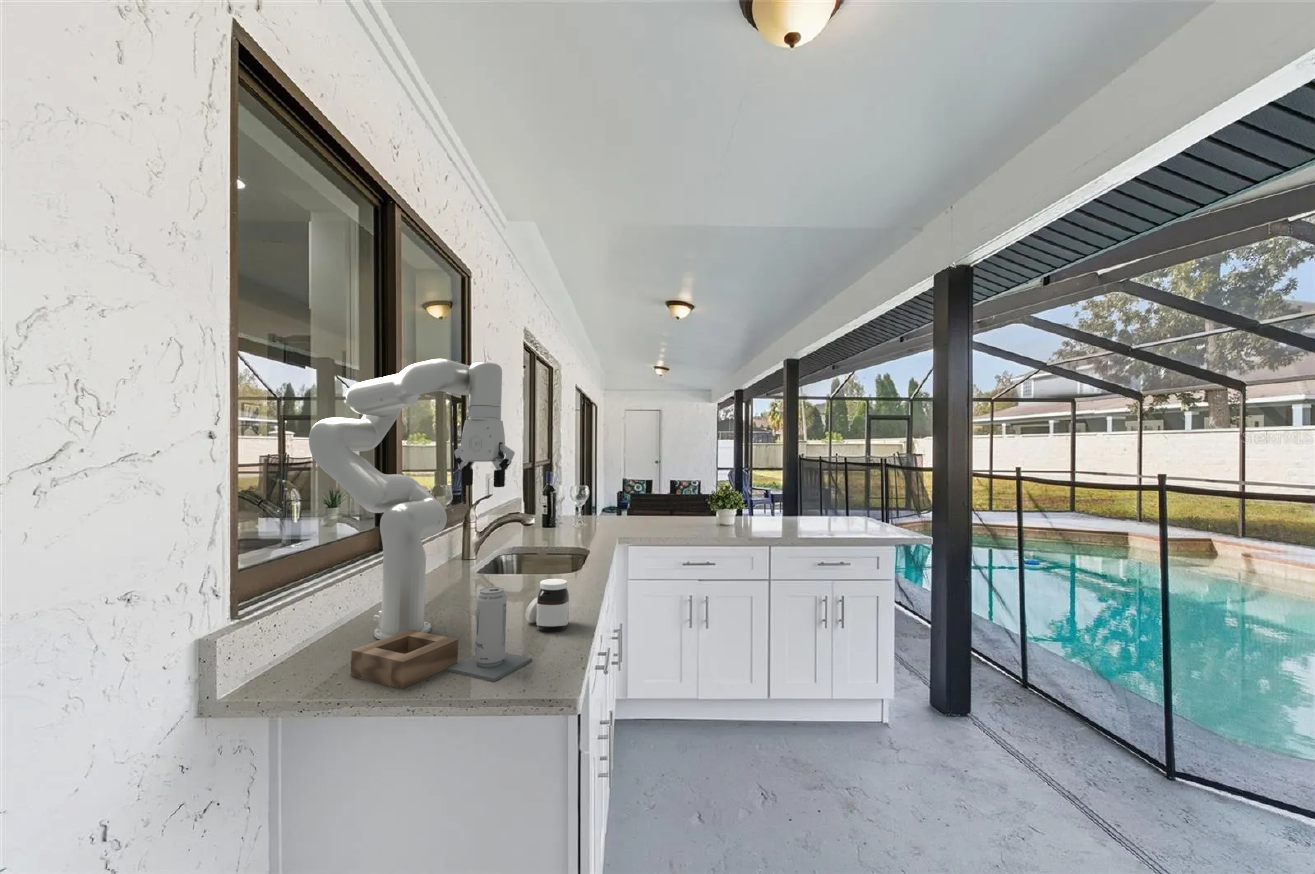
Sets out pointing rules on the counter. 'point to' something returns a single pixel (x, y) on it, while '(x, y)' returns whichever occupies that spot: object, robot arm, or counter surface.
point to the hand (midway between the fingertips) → (482, 486)
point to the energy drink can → (490, 627)
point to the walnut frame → (404, 658)
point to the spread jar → (550, 606)
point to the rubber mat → (489, 673)
